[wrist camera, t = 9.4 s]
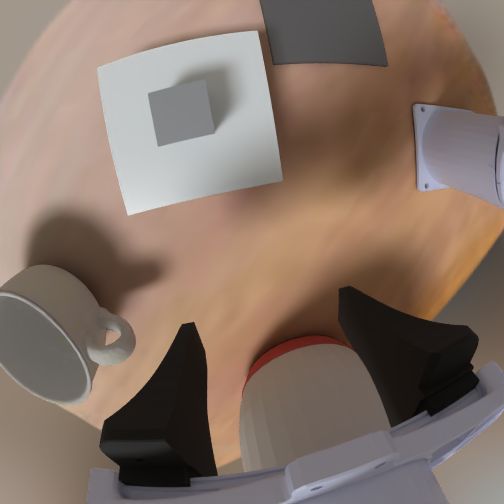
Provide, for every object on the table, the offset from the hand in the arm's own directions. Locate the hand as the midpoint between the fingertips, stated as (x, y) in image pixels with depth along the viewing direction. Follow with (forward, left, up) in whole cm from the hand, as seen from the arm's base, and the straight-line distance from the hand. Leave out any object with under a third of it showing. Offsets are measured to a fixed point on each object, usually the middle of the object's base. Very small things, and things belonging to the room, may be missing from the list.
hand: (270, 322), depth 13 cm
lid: (+2, -10, -5) cm, 12 cm away
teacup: (+16, +2, -10) cm, 19 cm away
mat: (-9, -18, -9) cm, 22 cm away
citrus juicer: (-3, +17, -10) cm, 20 cm away
